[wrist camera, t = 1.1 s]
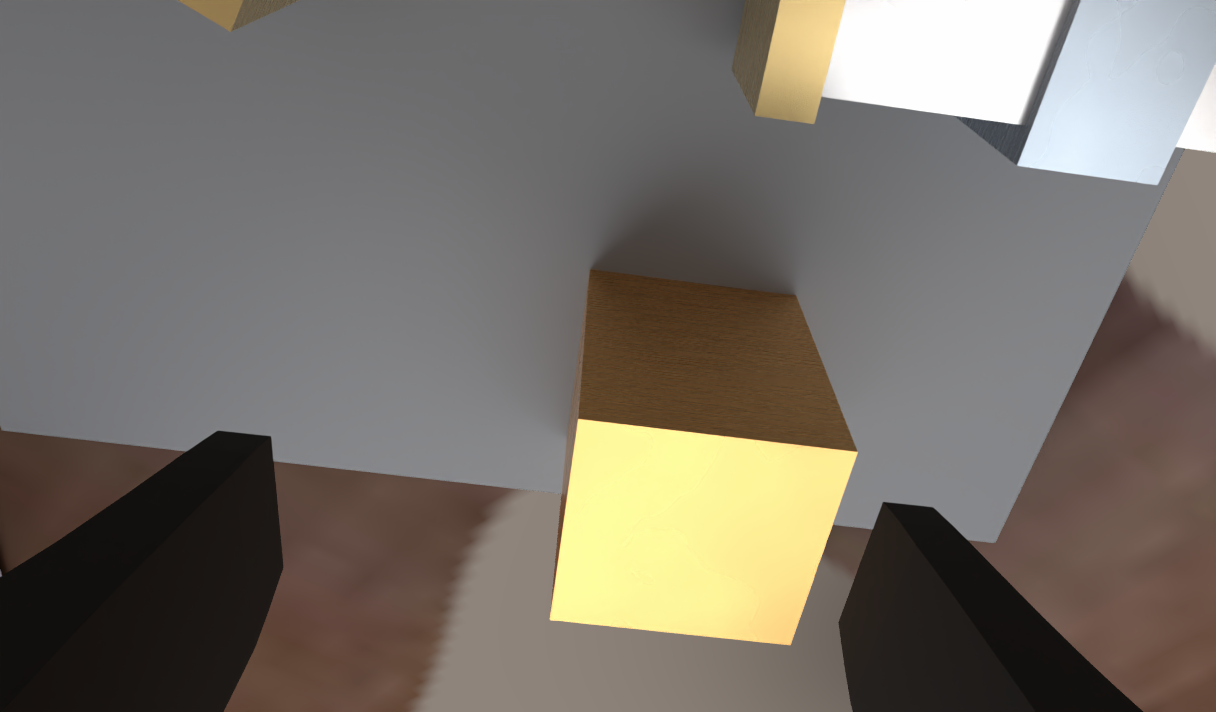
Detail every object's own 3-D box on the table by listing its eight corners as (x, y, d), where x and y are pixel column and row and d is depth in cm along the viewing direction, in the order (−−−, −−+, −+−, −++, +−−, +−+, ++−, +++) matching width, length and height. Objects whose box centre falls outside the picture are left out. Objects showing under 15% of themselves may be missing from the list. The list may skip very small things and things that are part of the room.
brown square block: (751, 460, 19) (790, 644, 14) (566, 439, 18) (549, 619, 14) (796, 295, 17) (857, 452, 12) (590, 269, 16) (577, 419, 12)
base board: (971, 500, 21) (994, 543, 20) (42, 392, 20) (1, 430, 18) (1341, -323, 13) (1420, -342, 12) (-191, -591, 12) (-292, -647, 10)
